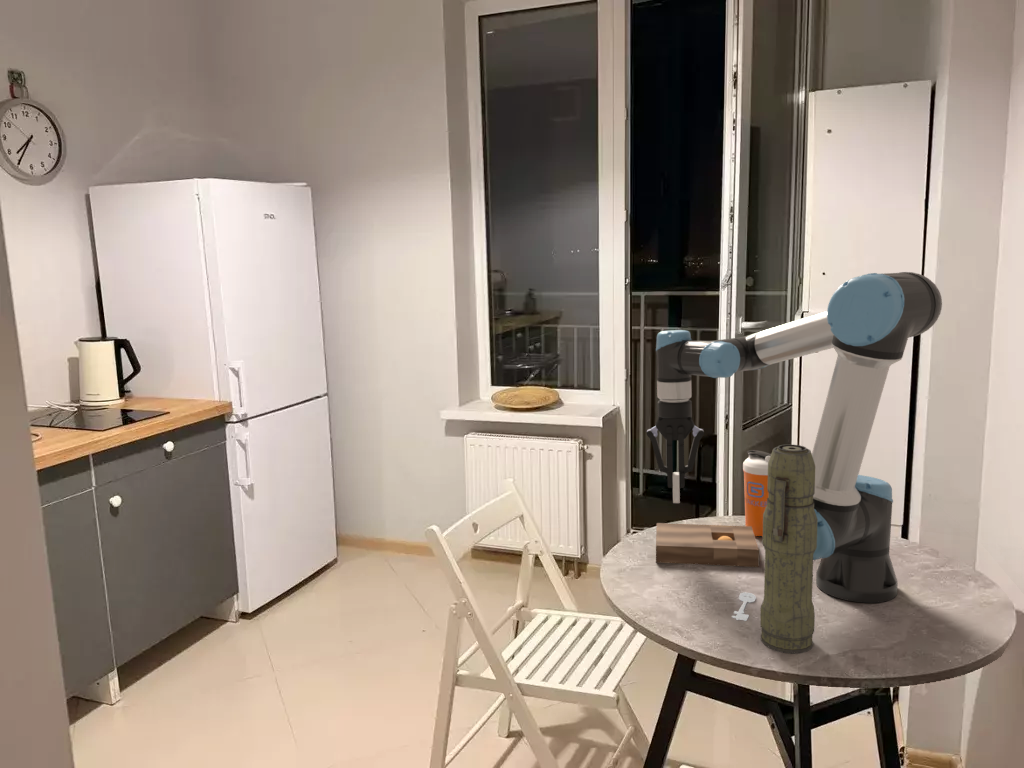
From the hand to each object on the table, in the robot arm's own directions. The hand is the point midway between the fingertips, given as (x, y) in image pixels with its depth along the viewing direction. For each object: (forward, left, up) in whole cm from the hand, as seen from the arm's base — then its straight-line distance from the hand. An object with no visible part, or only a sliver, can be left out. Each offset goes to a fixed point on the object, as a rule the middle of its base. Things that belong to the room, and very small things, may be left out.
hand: (676, 501), depth 179 cm
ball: (+1, -11, -10) cm, 15 cm away
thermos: (-40, -18, -12) cm, 46 cm away
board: (+1, -6, -12) cm, 14 cm away
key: (-28, -12, -13) cm, 33 cm away
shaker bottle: (+15, -20, -12) cm, 28 cm away
